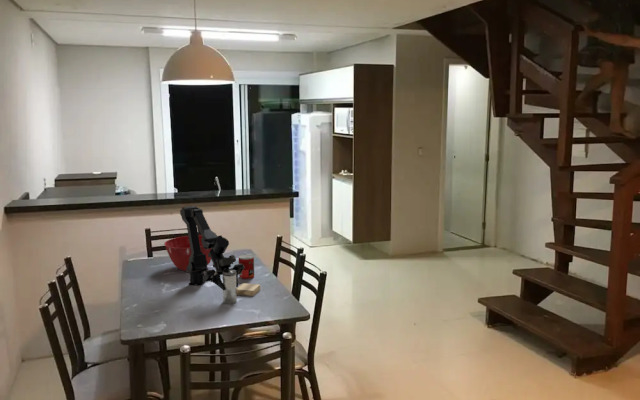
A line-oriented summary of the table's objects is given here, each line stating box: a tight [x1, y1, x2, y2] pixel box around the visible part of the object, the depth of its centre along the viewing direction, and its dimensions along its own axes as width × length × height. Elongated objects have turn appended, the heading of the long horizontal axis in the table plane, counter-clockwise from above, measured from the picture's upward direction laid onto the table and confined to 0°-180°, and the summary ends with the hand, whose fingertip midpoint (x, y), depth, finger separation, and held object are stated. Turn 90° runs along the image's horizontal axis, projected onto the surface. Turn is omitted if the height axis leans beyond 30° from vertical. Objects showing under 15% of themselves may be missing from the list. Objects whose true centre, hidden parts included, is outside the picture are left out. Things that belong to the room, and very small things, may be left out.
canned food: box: [238, 254, 255, 280], centre depth 271 cm, size 8×8×11 cm
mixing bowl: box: [164, 234, 212, 272], centre depth 287 cm, size 28×28×16 cm
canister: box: [222, 270, 238, 305], centre depth 234 cm, size 6×6×14 cm
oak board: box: [236, 283, 261, 297], centre depth 248 cm, size 9×9×2 cm
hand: (230, 288), depth 233 cm, fingers closed on canister, 6 cm apart
